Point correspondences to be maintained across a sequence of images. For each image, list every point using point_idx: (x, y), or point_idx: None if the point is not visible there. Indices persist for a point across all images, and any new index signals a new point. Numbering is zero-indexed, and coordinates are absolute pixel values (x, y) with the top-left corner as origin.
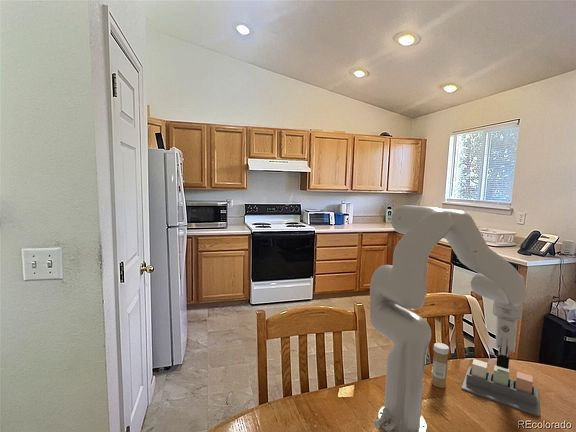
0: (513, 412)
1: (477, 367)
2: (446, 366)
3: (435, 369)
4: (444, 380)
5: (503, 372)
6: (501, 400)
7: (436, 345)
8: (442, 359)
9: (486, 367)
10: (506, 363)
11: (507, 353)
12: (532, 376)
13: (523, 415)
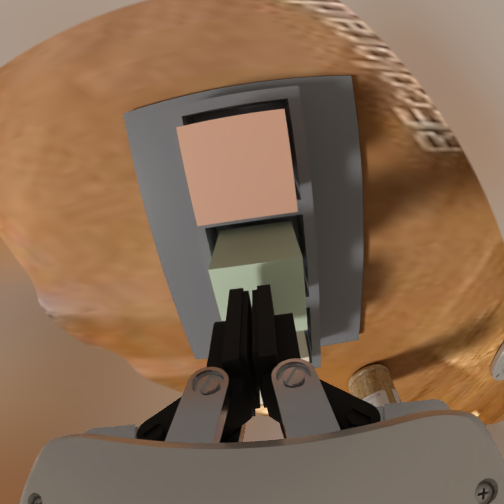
0: (391, 166)
1: None
2: None
3: None
4: (387, 382)
5: (292, 287)
6: (355, 218)
7: None
8: None
9: (301, 358)
10: (275, 321)
11: (327, 405)
12: (183, 126)
13: (385, 132)
